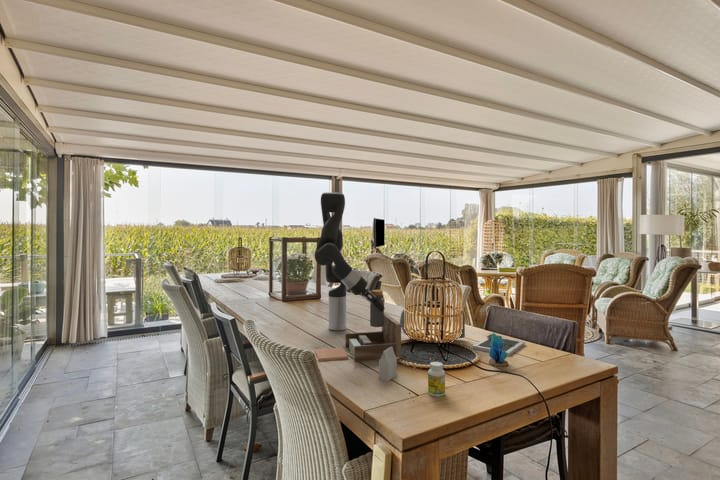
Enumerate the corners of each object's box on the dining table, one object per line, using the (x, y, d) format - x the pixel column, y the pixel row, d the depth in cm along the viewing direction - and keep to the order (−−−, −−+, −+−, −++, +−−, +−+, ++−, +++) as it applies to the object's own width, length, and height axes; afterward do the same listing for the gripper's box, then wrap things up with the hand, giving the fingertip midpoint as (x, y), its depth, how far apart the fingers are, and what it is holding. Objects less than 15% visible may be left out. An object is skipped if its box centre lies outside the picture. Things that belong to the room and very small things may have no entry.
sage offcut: (349, 349, 174) (349, 339, 173) (355, 348, 174) (355, 338, 174) (355, 359, 160) (355, 348, 160) (362, 359, 161) (362, 348, 160)
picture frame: (490, 339, 189) (472, 350, 174) (491, 334, 189) (472, 343, 173) (524, 346, 179) (508, 357, 163) (525, 340, 179) (508, 351, 163)
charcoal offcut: (358, 349, 174) (358, 335, 173) (365, 348, 174) (365, 335, 174) (364, 357, 162) (364, 343, 162) (371, 357, 162) (371, 342, 162)
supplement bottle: (448, 393, 127) (448, 363, 127) (438, 398, 123) (439, 368, 123) (434, 388, 131) (434, 359, 130) (424, 393, 127) (424, 363, 127)
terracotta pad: (315, 351, 169) (315, 349, 169) (342, 349, 172) (342, 347, 172) (318, 361, 157) (318, 358, 157) (348, 358, 160) (348, 356, 160)
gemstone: (485, 364, 153) (485, 334, 153) (492, 358, 160) (493, 329, 160) (504, 369, 149) (505, 337, 148) (511, 362, 156) (512, 332, 155)
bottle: (379, 328, 165) (379, 292, 164) (367, 326, 168) (367, 290, 167) (386, 324, 170) (386, 290, 169) (374, 323, 173) (374, 288, 172)
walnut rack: (345, 346, 177) (345, 315, 176) (386, 343, 181) (386, 313, 181) (355, 362, 156) (355, 326, 156) (401, 358, 161) (401, 324, 160)
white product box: (396, 374, 143) (396, 347, 143) (388, 381, 137) (388, 352, 137) (387, 372, 145) (387, 345, 145) (378, 379, 139) (378, 350, 139)
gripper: (364, 277, 159) (392, 305, 163) (356, 272, 173) (382, 298, 177) (351, 290, 158) (379, 318, 162) (344, 285, 172) (370, 311, 176)
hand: (381, 308), depth 169 cm, fingers closed on bottle, 5 cm apart
